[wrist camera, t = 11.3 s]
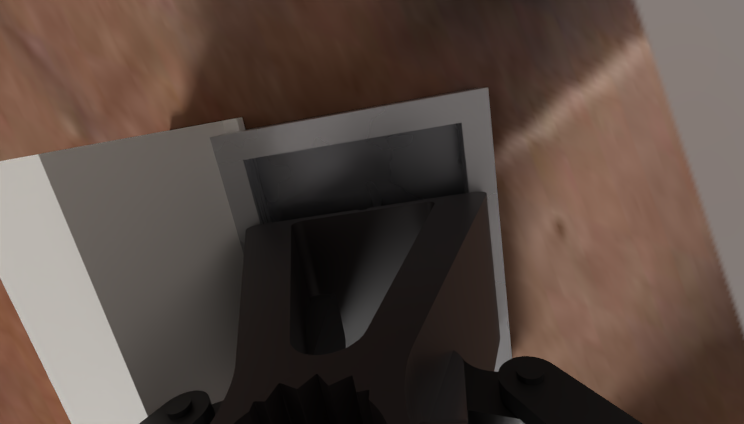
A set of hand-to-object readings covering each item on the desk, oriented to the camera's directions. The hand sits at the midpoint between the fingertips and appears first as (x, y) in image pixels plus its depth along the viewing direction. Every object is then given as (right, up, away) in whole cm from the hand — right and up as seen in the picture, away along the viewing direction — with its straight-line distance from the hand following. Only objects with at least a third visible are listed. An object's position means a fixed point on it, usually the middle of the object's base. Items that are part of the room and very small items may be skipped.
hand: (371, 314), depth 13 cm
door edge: (-5, 0, +5) cm, 8 cm away
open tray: (0, +1, +4) cm, 5 cm away
